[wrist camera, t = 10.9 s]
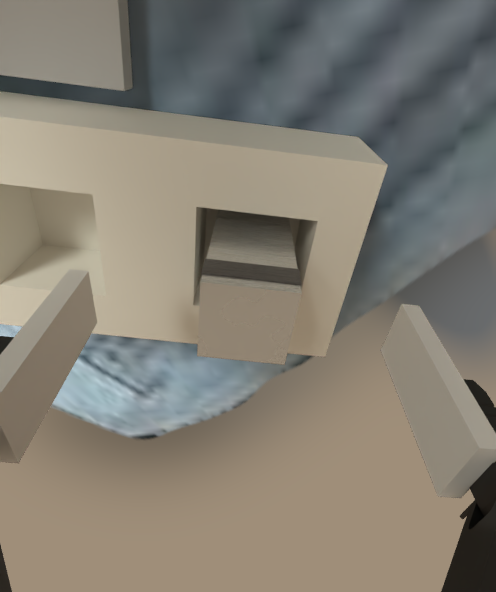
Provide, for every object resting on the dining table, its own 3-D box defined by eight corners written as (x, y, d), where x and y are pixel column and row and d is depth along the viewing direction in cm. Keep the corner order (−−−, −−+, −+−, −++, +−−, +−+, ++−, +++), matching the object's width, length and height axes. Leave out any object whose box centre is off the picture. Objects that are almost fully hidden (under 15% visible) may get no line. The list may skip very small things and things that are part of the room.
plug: (217, 252, 25) (195, 356, 16) (221, 193, 22) (199, 281, 14) (277, 259, 25) (285, 365, 17) (287, 201, 22) (303, 292, 14)
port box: (24, 274, 27) (-27, 324, 22) (-28, 87, 20) (-121, 101, 15) (312, 305, 28) (324, 360, 23) (358, 137, 21) (387, 165, 16)
